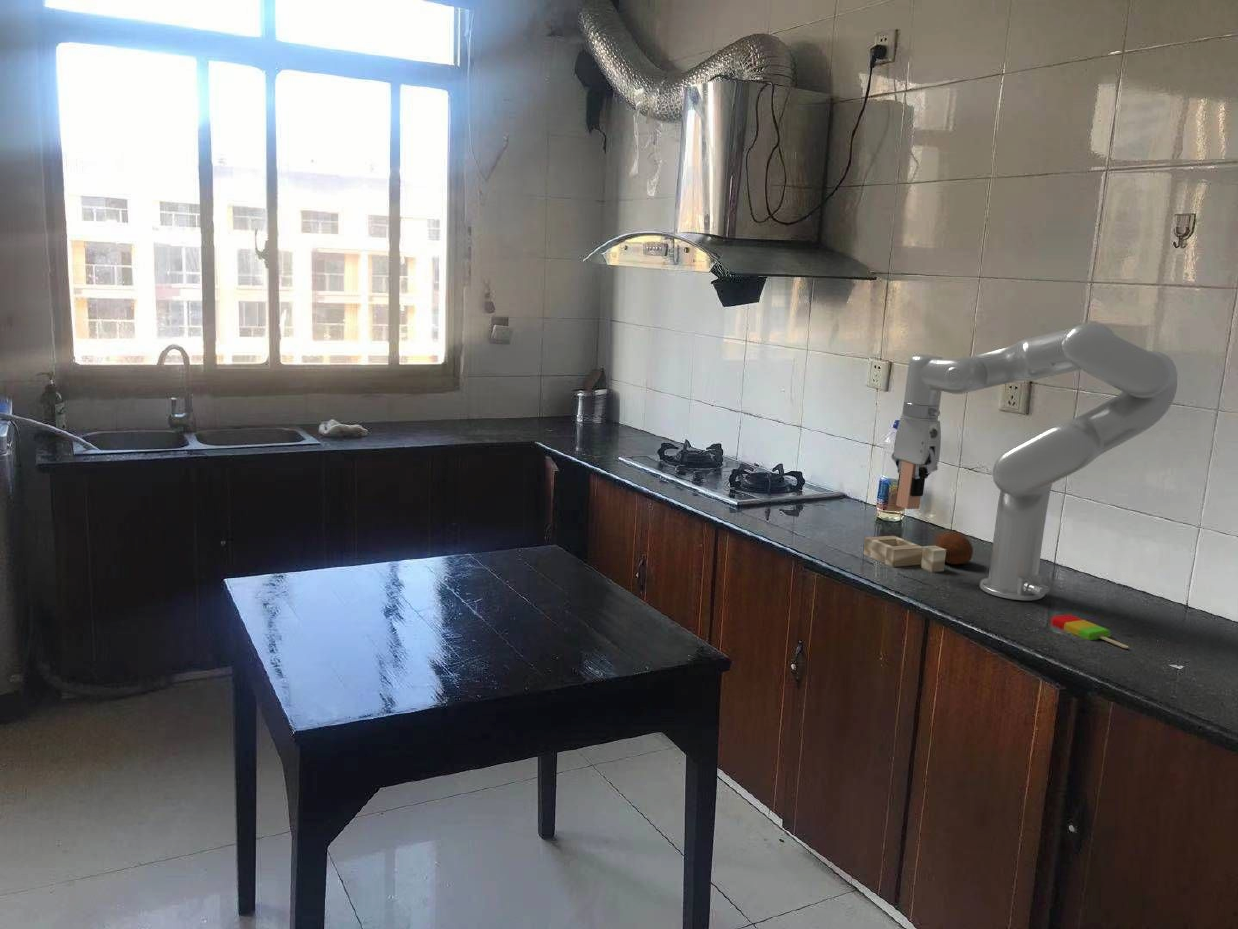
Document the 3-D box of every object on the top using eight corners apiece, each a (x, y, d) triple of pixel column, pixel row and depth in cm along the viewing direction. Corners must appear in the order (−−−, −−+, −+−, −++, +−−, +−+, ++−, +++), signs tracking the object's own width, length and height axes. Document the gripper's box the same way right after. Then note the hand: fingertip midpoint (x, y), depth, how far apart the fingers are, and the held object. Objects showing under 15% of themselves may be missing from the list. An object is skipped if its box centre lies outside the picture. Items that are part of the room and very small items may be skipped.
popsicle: (1067, 622, 189) (1069, 613, 189) (1137, 650, 176) (1138, 640, 176) (1047, 625, 187) (1049, 616, 187) (1116, 654, 174) (1118, 644, 173)
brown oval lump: (951, 555, 232) (955, 525, 231) (983, 568, 223) (987, 537, 221) (922, 557, 229) (926, 526, 228) (953, 570, 220) (956, 538, 218)
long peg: (919, 508, 215) (926, 455, 213) (906, 509, 214) (914, 455, 211) (908, 504, 218) (915, 452, 216) (896, 505, 217) (903, 452, 214)
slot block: (921, 564, 223) (923, 547, 223) (892, 566, 220) (894, 549, 219) (892, 551, 233) (894, 535, 232) (863, 554, 229) (865, 537, 229)
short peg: (943, 571, 219) (946, 549, 218) (931, 572, 218) (933, 550, 217) (933, 566, 222) (935, 545, 221) (920, 567, 221) (923, 546, 220)
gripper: (961, 418, 206) (949, 502, 210) (907, 405, 221) (897, 484, 224) (934, 418, 203) (922, 503, 207) (881, 405, 217) (872, 485, 221)
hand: (909, 492), depth 215 cm, fingers closed on long peg, 3 cm apart
